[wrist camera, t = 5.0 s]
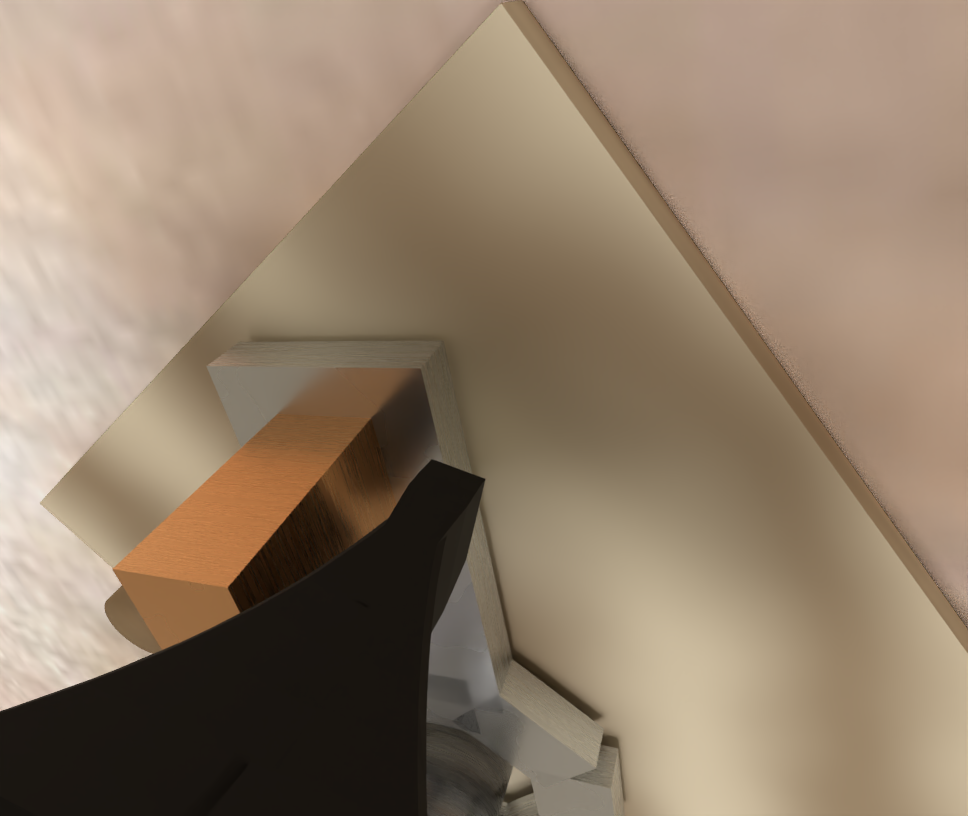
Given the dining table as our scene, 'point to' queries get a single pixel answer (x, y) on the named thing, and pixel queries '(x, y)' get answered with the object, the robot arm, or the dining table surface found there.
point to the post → (463, 774)
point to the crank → (346, 519)
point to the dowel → (130, 621)
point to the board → (599, 456)
